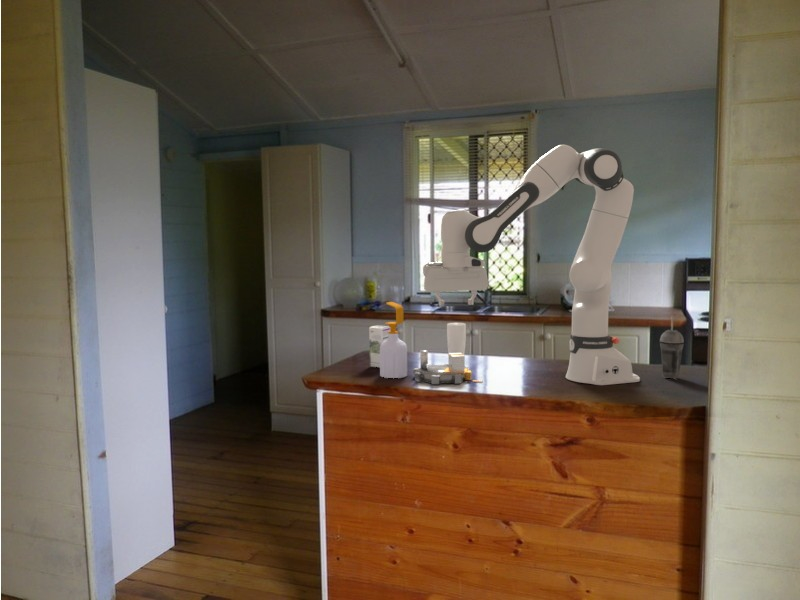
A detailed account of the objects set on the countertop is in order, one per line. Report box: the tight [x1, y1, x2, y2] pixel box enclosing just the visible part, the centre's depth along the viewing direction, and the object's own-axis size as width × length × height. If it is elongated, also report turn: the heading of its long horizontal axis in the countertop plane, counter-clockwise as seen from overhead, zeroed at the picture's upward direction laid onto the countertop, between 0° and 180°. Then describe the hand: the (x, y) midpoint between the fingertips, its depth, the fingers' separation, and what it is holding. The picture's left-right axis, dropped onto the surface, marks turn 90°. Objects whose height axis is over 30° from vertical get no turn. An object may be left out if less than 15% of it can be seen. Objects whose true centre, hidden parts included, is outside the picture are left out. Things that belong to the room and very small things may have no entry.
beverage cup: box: [659, 314, 685, 379], centre depth 196 cm, size 7×7×20 cm
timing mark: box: [471, 379, 483, 383], centre depth 194 cm, size 3×1×1 cm, turn 67°
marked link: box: [447, 353, 466, 372], centre depth 198 cm, size 4×6×5 cm, turn 7°
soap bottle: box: [379, 301, 408, 380], centre depth 203 cm, size 9×9×25 cm
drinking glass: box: [446, 322, 467, 356], centre depth 219 cm, size 7×7×15 cm
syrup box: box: [368, 324, 391, 369], centre depth 219 cm, size 6×6×14 cm
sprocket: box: [412, 349, 473, 385], centre depth 199 cm, size 19×19×8 cm
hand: (456, 305), depth 196 cm, fingers open, 8 cm apart
